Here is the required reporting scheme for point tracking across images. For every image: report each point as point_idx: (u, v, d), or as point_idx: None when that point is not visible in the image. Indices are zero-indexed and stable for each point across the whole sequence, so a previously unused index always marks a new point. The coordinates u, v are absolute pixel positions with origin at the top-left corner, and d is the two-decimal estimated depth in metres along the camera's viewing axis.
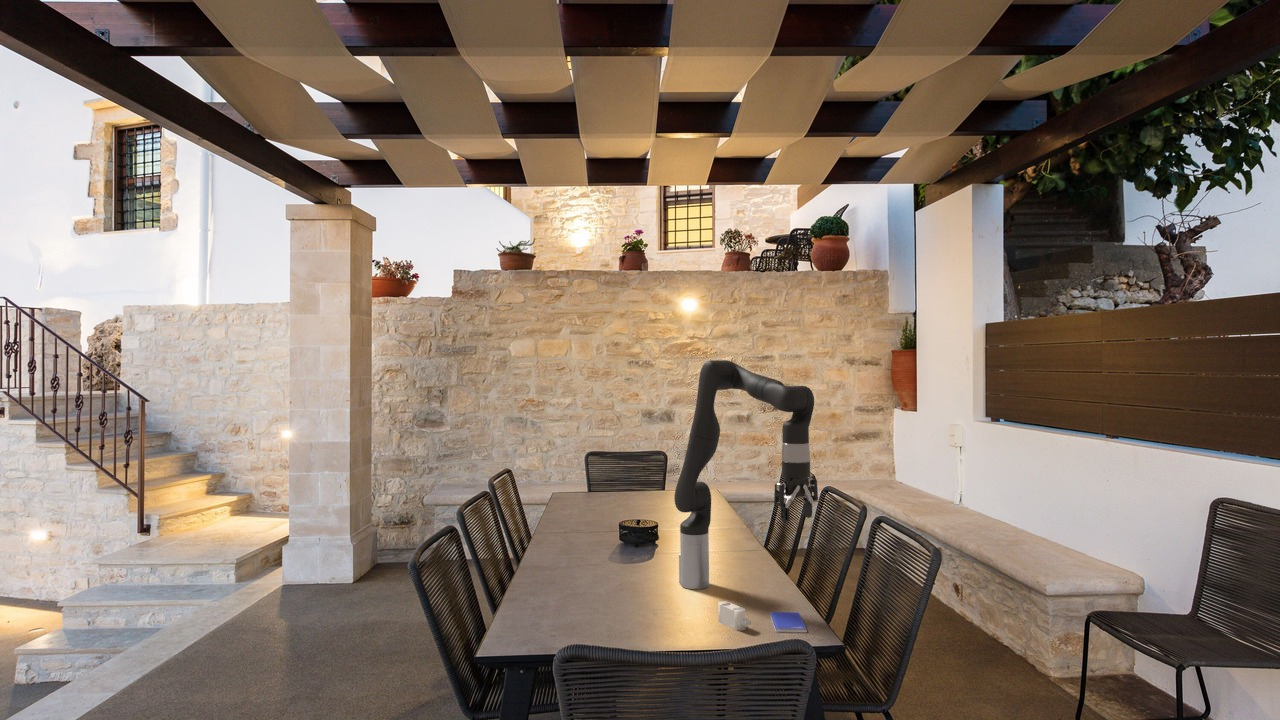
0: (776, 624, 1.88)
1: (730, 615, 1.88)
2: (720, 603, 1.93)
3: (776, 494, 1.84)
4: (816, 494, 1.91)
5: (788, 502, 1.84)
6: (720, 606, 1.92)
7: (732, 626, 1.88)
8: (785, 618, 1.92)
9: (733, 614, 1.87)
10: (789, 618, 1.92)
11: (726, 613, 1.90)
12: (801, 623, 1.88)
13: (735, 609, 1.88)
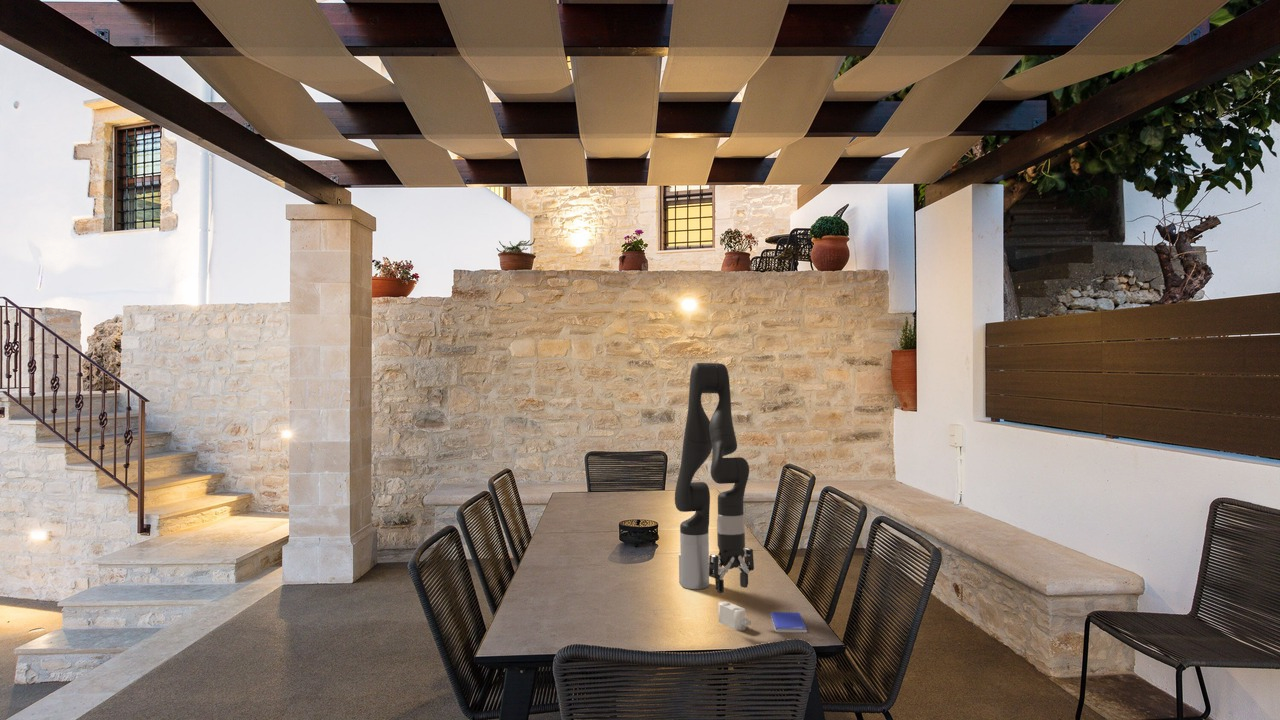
0: (776, 624, 1.88)
1: (730, 615, 1.88)
2: (720, 603, 1.93)
3: (710, 566, 1.87)
4: (752, 564, 1.93)
5: (722, 574, 1.87)
6: (720, 606, 1.92)
7: (732, 626, 1.88)
8: (786, 618, 1.92)
9: (733, 614, 1.87)
10: (789, 618, 1.92)
11: (726, 613, 1.90)
12: (801, 623, 1.88)
13: (735, 609, 1.88)
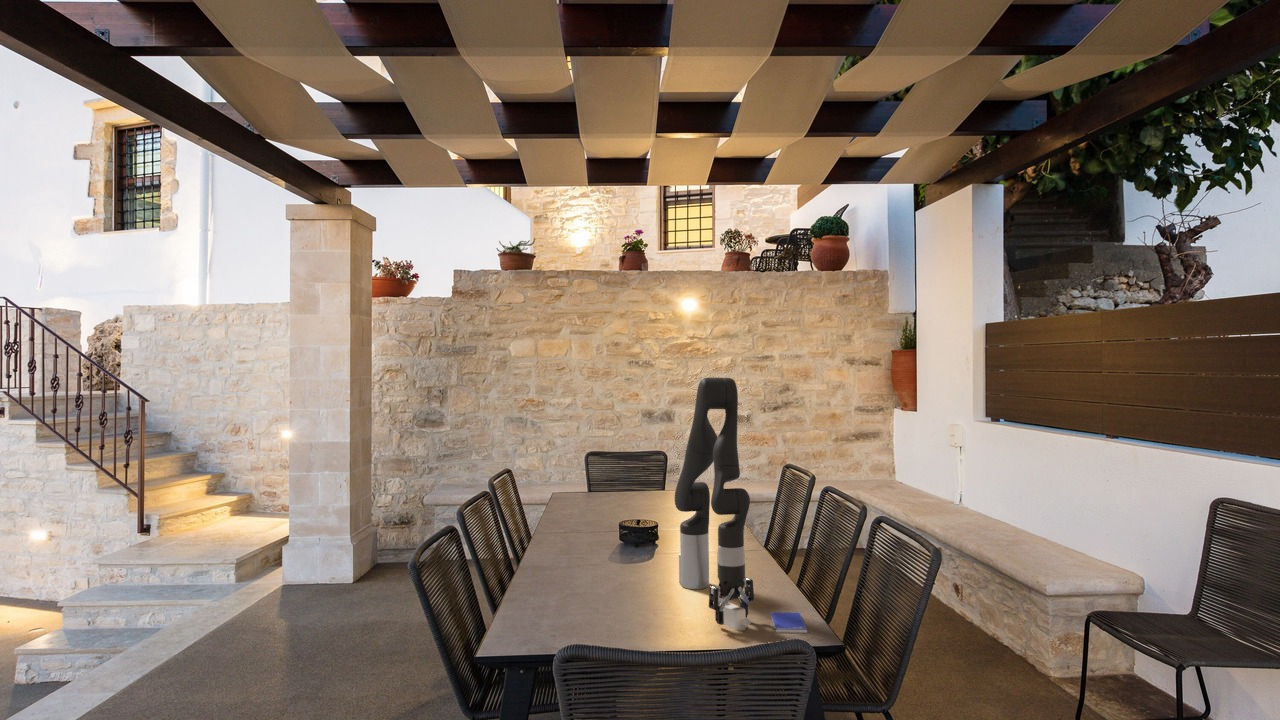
0: (776, 624, 1.88)
1: (730, 615, 1.88)
2: (720, 603, 1.93)
3: (710, 597, 1.87)
4: (752, 594, 1.93)
5: (722, 605, 1.87)
6: None
7: (732, 626, 1.88)
8: (786, 618, 1.92)
9: (733, 614, 1.87)
10: (790, 618, 1.92)
11: (726, 613, 1.90)
12: (802, 623, 1.88)
13: (735, 609, 1.88)
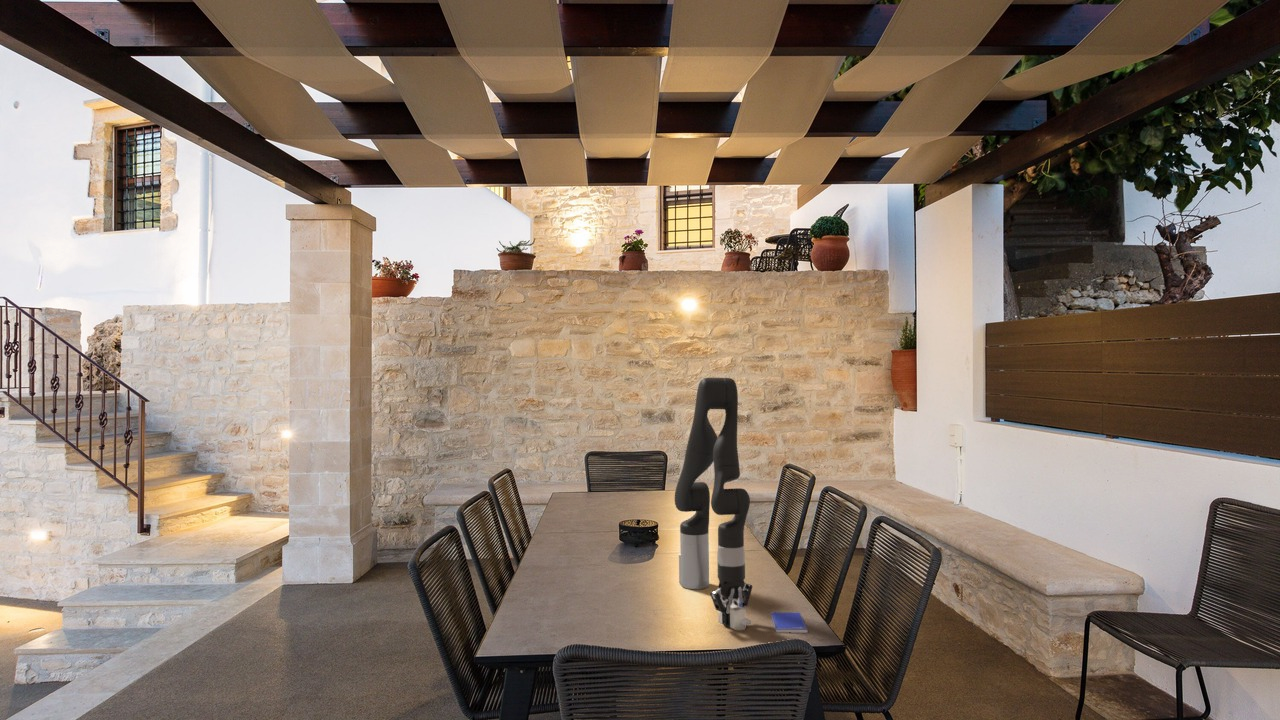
0: (776, 624, 1.87)
1: (730, 614, 1.88)
2: None
3: (714, 602, 1.88)
4: (747, 600, 1.92)
5: (728, 607, 1.88)
6: None
7: (732, 626, 1.88)
8: (786, 618, 1.92)
9: (733, 614, 1.87)
10: (790, 618, 1.91)
11: None
12: (802, 623, 1.88)
13: (735, 609, 1.88)
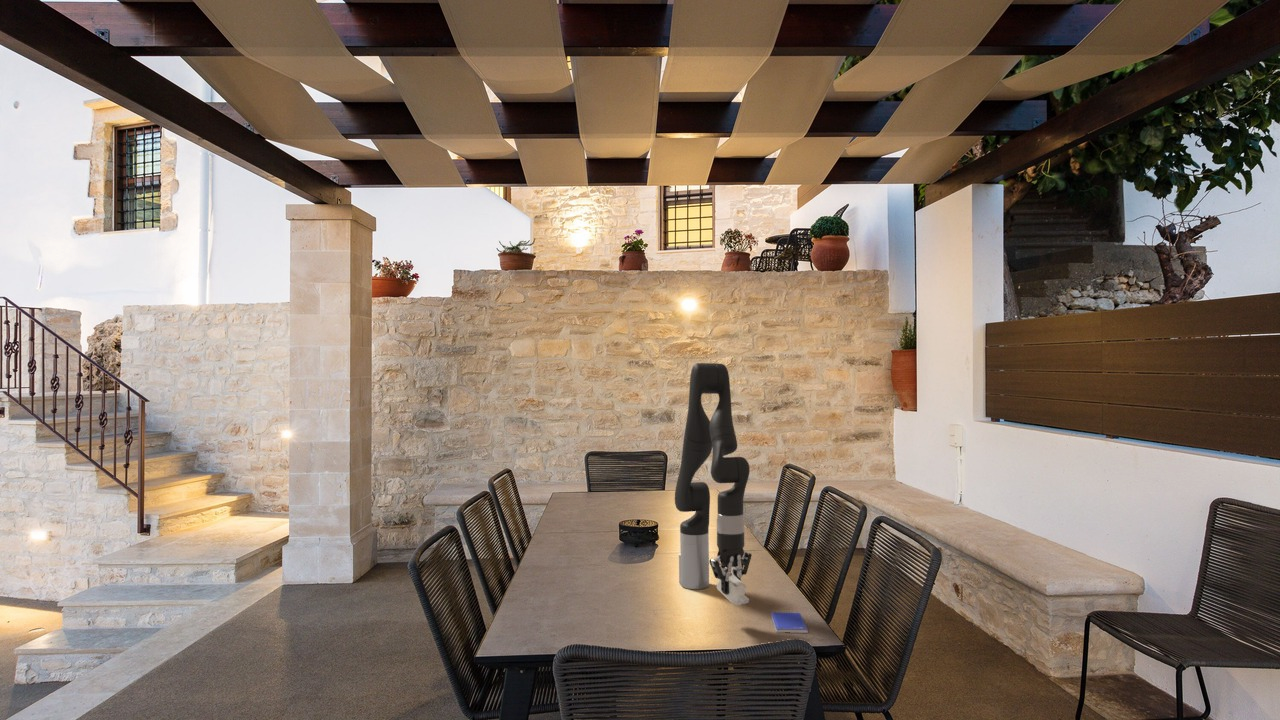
0: (776, 624, 1.87)
1: (730, 588, 1.88)
2: None
3: (714, 570, 1.88)
4: (746, 568, 1.92)
5: (727, 575, 1.88)
6: None
7: (729, 598, 1.89)
8: (786, 618, 1.92)
9: (733, 589, 1.87)
10: (790, 619, 1.91)
11: None
12: (802, 623, 1.88)
13: (736, 585, 1.88)
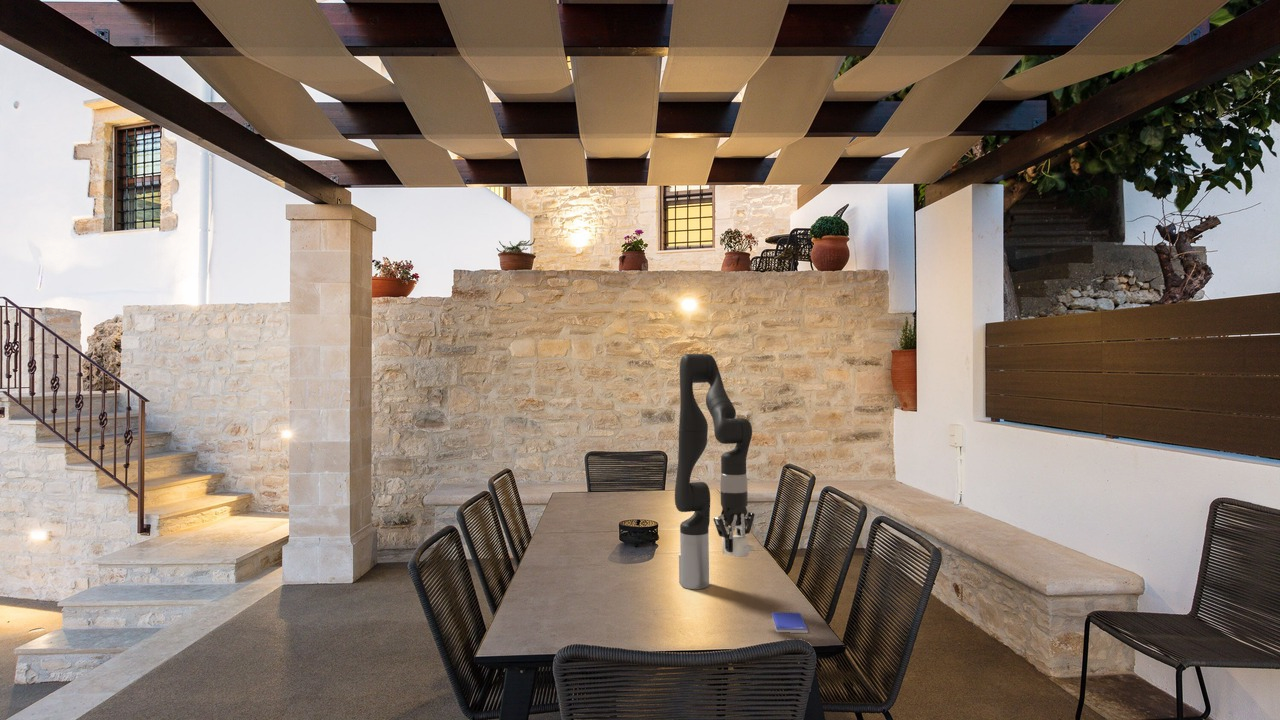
0: (777, 624, 1.87)
1: (733, 543, 1.93)
2: None
3: (718, 528, 1.93)
4: (749, 527, 1.97)
5: (731, 533, 1.93)
6: (723, 537, 1.97)
7: (736, 554, 1.92)
8: (786, 618, 1.92)
9: (736, 542, 1.92)
10: (790, 619, 1.91)
11: None
12: (802, 623, 1.88)
13: (738, 537, 1.93)
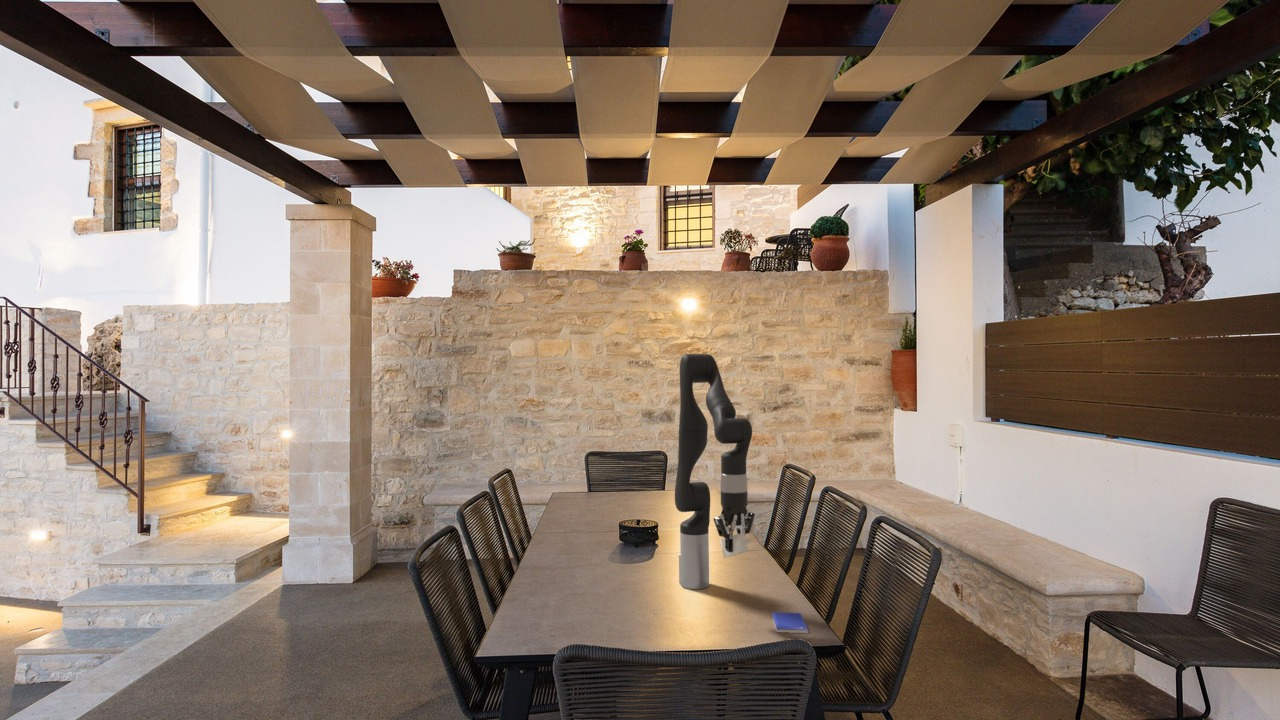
0: (777, 624, 1.87)
1: None
2: None
3: (718, 528, 1.93)
4: (749, 527, 1.97)
5: (731, 533, 1.93)
6: (721, 541, 1.97)
7: (736, 551, 1.92)
8: (787, 618, 1.92)
9: (734, 539, 1.93)
10: (791, 619, 1.91)
11: None
12: (803, 624, 1.88)
13: (734, 535, 1.94)
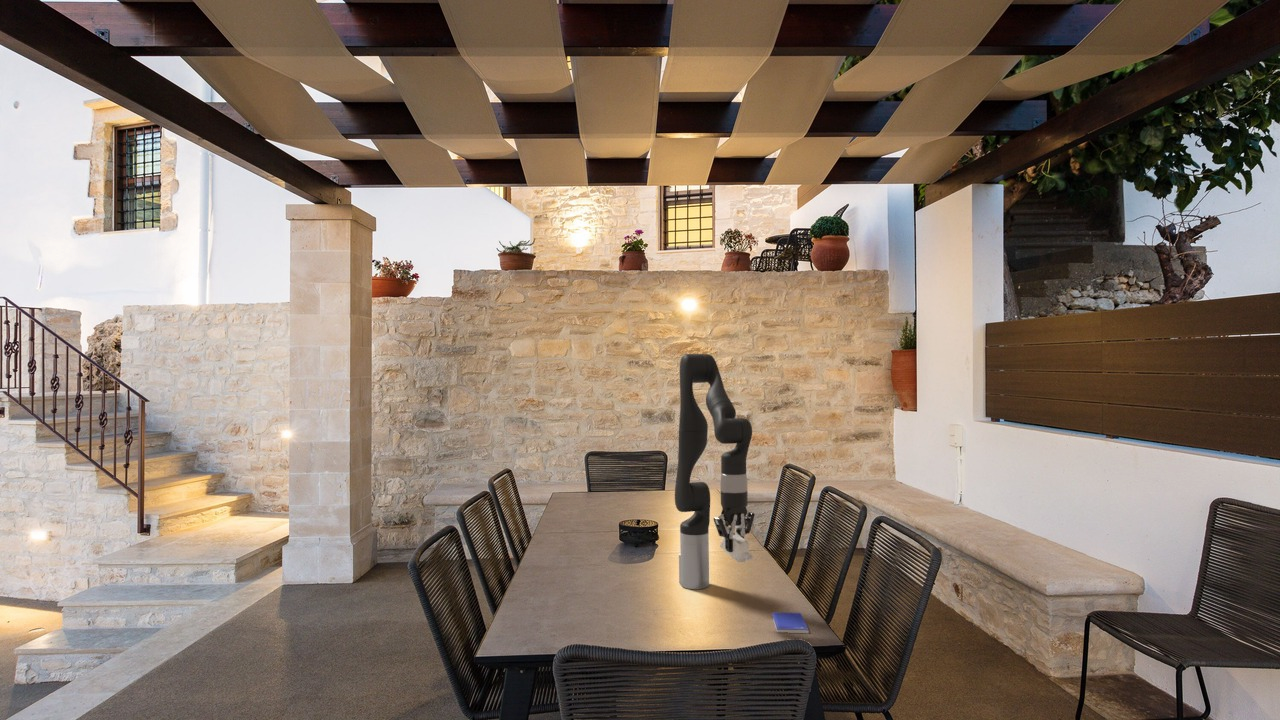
0: (777, 624, 1.87)
1: (733, 545, 1.93)
2: None
3: (718, 528, 1.93)
4: (749, 527, 1.97)
5: (731, 533, 1.93)
6: None
7: (733, 556, 1.93)
8: (787, 618, 1.92)
9: (737, 546, 1.92)
10: (791, 619, 1.91)
11: None
12: (803, 624, 1.88)
13: (739, 542, 1.92)
